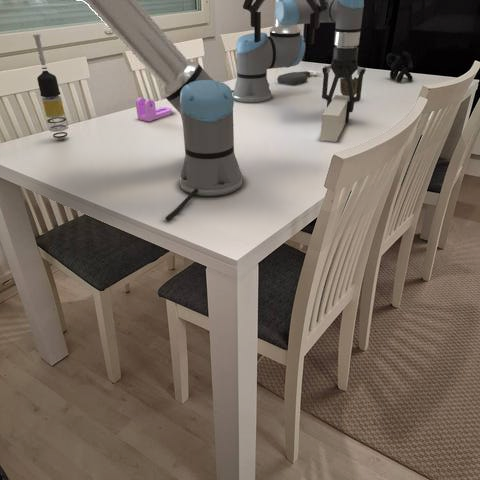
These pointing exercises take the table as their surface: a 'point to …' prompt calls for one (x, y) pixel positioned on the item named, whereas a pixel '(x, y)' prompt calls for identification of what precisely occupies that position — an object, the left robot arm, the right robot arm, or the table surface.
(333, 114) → the bar
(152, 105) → the bracket
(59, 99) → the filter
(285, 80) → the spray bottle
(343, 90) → the cup
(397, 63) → the squiggle
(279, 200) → the table surface
